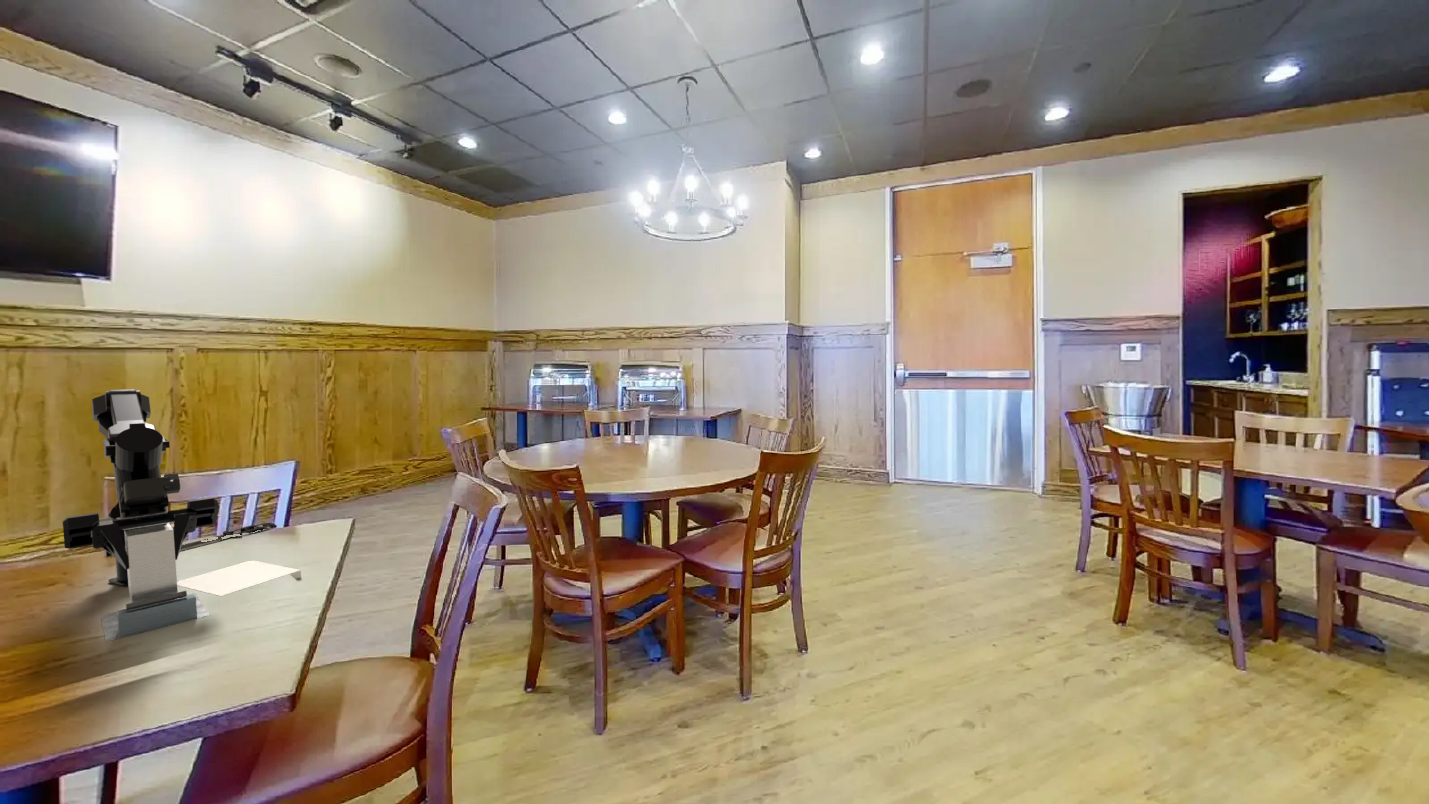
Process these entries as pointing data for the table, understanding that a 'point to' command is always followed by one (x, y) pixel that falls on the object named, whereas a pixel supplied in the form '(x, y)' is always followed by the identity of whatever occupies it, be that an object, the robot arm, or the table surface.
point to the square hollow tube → (151, 562)
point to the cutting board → (237, 577)
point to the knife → (244, 529)
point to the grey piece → (152, 615)
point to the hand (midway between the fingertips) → (152, 563)
